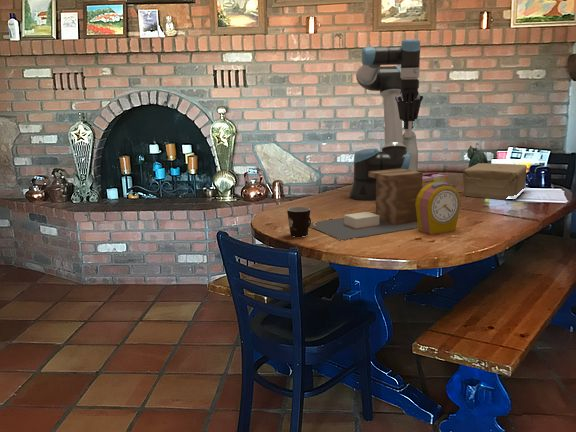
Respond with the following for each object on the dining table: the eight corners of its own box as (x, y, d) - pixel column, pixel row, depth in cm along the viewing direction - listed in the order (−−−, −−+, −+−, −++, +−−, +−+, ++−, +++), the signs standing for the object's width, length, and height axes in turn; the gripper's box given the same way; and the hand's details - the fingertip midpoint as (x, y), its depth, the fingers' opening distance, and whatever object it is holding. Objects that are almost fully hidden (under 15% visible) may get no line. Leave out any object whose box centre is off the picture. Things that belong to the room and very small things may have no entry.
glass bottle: (398, 179, 327) (399, 130, 320) (416, 179, 325) (418, 130, 319) (399, 182, 317) (400, 131, 311) (417, 182, 316) (419, 131, 309)
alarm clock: (427, 235, 208) (429, 185, 204) (414, 230, 216) (416, 182, 211) (460, 230, 214) (462, 182, 210) (446, 225, 221) (448, 179, 217)
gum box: (435, 200, 267) (437, 172, 264) (449, 203, 261) (451, 174, 258) (401, 208, 253) (402, 178, 250) (414, 211, 247) (416, 180, 244)
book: (367, 211, 228) (367, 221, 229) (344, 214, 223) (344, 224, 224) (379, 215, 221) (379, 225, 222) (355, 219, 216) (355, 229, 217)
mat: (303, 224, 227) (303, 223, 227) (392, 211, 246) (392, 210, 246) (341, 240, 203) (341, 239, 203) (436, 225, 222) (436, 224, 222)
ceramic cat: (465, 176, 334) (466, 141, 330) (475, 175, 335) (477, 141, 330) (479, 181, 315) (481, 145, 310) (490, 181, 316) (493, 145, 311)
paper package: (474, 187, 298) (476, 161, 295) (527, 192, 285) (529, 164, 281) (460, 197, 276) (461, 168, 273) (516, 201, 262) (518, 171, 259)
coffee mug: (286, 232, 215) (286, 207, 213) (309, 232, 216) (308, 206, 213) (289, 241, 204) (288, 214, 201) (313, 240, 204) (312, 213, 202)
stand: (367, 220, 232) (368, 171, 228) (399, 215, 240) (400, 168, 235) (388, 227, 220) (389, 176, 216) (420, 222, 227) (422, 172, 223)
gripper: (402, 78, 226) (401, 138, 231) (428, 78, 232) (426, 136, 237) (391, 79, 232) (389, 137, 238) (416, 78, 238) (414, 135, 243)
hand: (408, 136), depth 237 cm, fingers closed
